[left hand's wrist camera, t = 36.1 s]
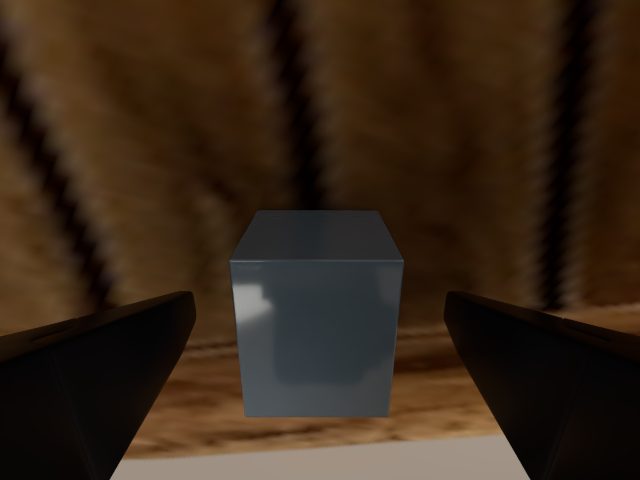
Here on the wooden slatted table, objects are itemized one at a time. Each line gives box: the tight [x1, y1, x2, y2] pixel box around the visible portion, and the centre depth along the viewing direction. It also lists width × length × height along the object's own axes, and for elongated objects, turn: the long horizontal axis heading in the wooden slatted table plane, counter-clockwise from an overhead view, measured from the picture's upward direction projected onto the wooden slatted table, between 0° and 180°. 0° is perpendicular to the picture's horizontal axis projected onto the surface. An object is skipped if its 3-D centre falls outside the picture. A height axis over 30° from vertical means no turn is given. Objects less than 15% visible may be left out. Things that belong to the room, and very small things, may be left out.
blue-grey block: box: [229, 210, 404, 417], centre depth 11 cm, size 4×5×4 cm
